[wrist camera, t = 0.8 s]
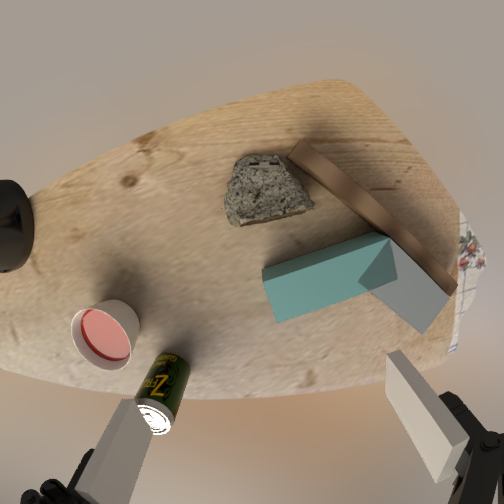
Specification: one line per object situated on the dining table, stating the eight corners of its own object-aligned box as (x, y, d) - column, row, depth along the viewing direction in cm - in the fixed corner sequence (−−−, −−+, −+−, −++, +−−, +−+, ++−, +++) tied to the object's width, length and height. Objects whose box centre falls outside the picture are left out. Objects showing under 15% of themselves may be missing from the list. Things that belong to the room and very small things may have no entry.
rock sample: (290, 123, 28) (290, 184, 24) (317, 169, 34) (320, 229, 30) (211, 154, 33) (196, 213, 29) (244, 191, 39) (237, 247, 35)
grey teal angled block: (247, 287, 36) (246, 302, 31) (322, 188, 33) (332, 188, 28) (366, 365, 38) (377, 384, 33) (431, 286, 36) (449, 298, 31)
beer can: (197, 375, 39) (181, 433, 27) (167, 383, 39) (144, 437, 28) (180, 345, 38) (156, 400, 26) (149, 355, 38) (118, 406, 27)
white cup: (83, 302, 37) (60, 319, 31) (128, 282, 36) (106, 298, 30) (112, 354, 39) (94, 376, 32) (158, 339, 38) (144, 363, 32)
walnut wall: (286, 158, 33) (290, 153, 29) (296, 145, 32) (301, 139, 28) (435, 287, 36) (450, 296, 32) (443, 276, 36) (458, 284, 32)
